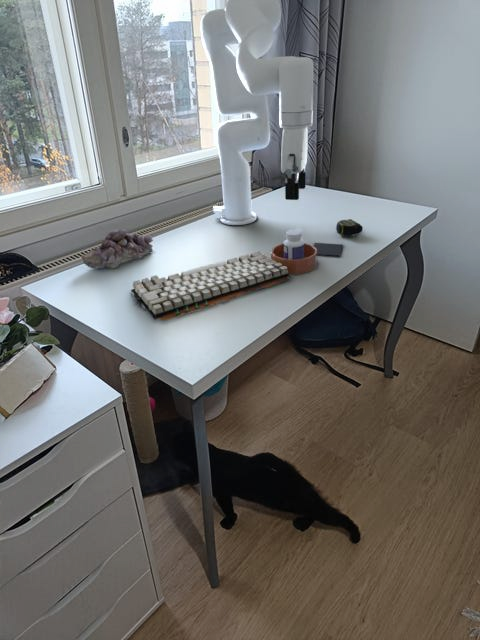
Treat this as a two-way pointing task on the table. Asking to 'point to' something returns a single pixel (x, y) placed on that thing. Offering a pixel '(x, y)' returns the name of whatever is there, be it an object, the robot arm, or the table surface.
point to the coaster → (328, 249)
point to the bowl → (299, 264)
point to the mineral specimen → (118, 250)
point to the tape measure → (348, 227)
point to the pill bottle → (293, 245)
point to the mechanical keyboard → (207, 285)
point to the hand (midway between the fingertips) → (295, 193)
